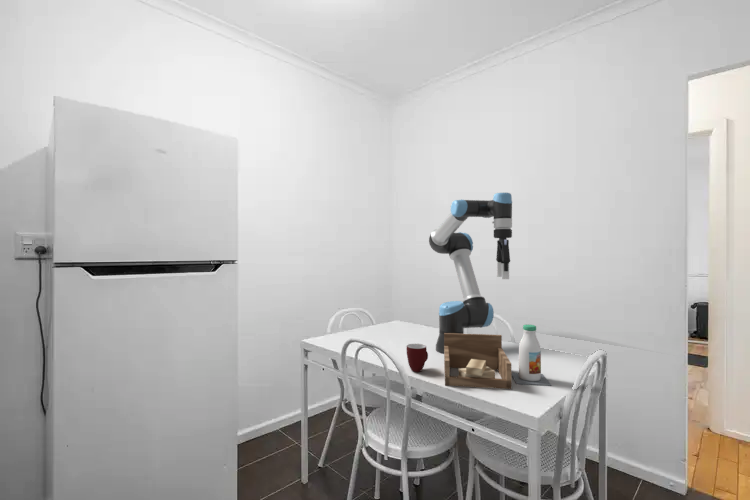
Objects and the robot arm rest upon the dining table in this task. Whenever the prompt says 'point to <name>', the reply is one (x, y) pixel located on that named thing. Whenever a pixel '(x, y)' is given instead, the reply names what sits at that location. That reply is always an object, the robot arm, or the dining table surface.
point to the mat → (542, 381)
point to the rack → (480, 348)
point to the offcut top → (476, 367)
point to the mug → (416, 356)
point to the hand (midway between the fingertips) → (502, 278)
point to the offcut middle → (486, 374)
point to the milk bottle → (529, 355)
